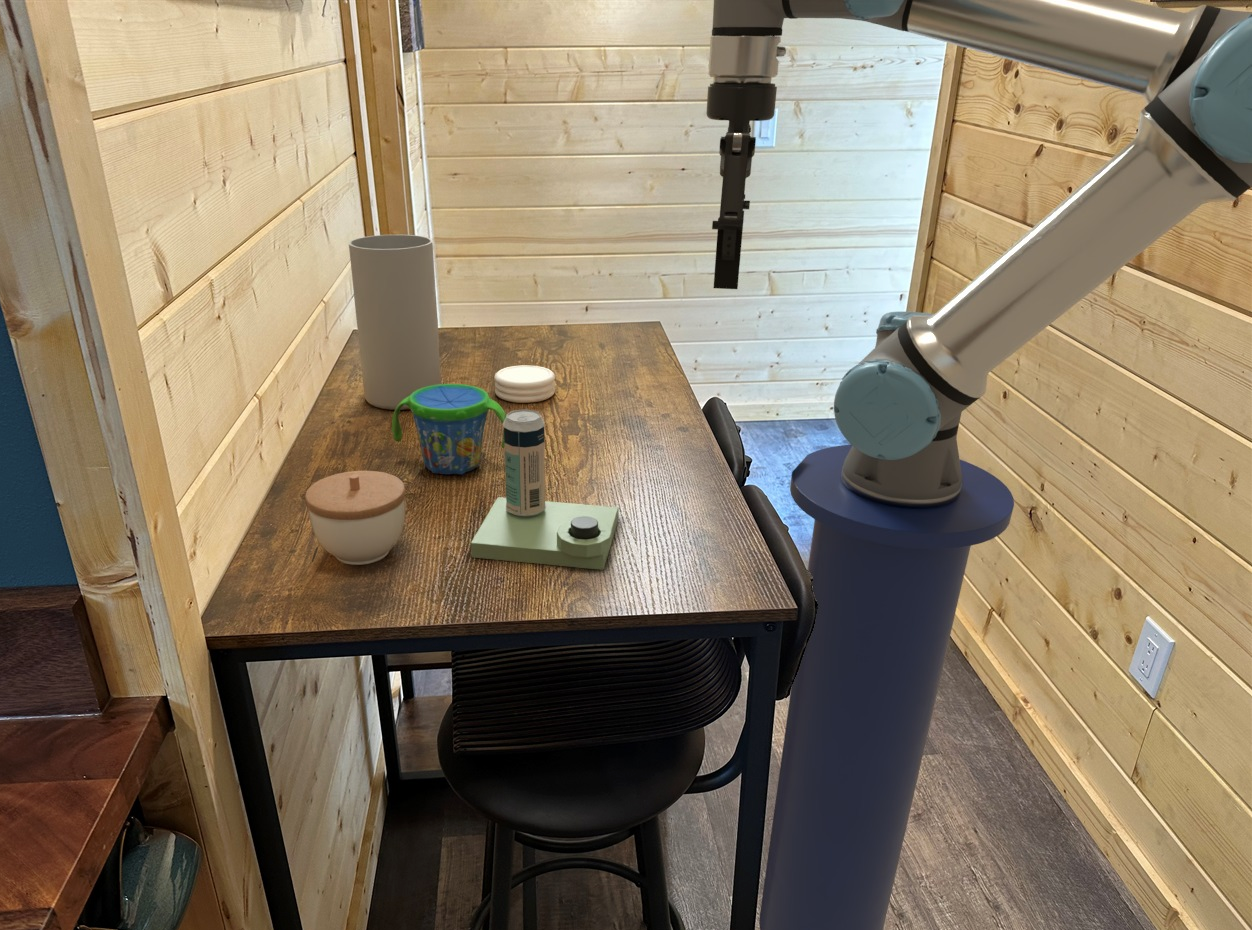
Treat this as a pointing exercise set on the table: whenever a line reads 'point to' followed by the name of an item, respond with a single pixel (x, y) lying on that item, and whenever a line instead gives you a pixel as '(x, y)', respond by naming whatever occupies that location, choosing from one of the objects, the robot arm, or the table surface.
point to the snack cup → (449, 425)
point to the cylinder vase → (395, 316)
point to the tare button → (584, 528)
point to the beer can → (524, 462)
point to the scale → (545, 535)
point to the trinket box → (357, 514)
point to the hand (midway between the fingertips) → (727, 275)
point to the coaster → (524, 384)
